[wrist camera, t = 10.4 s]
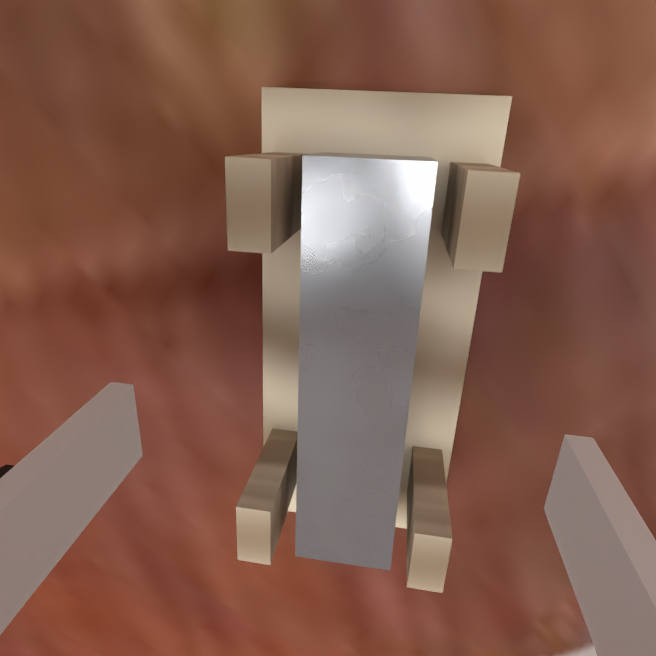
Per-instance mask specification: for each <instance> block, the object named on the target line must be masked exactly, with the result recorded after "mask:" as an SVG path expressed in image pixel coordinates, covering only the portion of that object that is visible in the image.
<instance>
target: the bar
mask: <svg viewBox="0 0 656 656" xmlns="http://www.w3.org/2000/svg"><path fill="white" fill-rule="evenodd" d="M437 165H438V162H437V161H436V160H435V159H433V158H432V157H418V156H396V155H374V154H352V153H330V152H321V153H315V154H308V155H302V208H301V264H300V321H299V377H298V433H297V490H296V546H295V556H298V557H305V558H311V559H318V560H324V561H331V562H337V563H344V564H350V565H357V566H364V567H370V568H377V569H383V570H390V567H391V559H392V550H393V541H394V533H395V524H396V516H397V507H398V499H399V490H400V482H401V473H402V464H403V456H404V447H405V439H406V430H407V422H408V413H409V405H410V396H411V387H412V379H413V370H414V362H415V353H416V345H417V336H418V328H419V319H420V310H421V302H422V293H423V285H424V276H425V268H426V259H427V251H428V242H429V233H430V225H431V216H432V208H433V199H434V191H435V182H436V174H437Z"/></svg>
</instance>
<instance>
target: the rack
mask: <svg viewBox="0 0 656 656" xmlns="http://www.w3.org/2000/svg"><path fill="white" fill-rule="evenodd" d="M261 92H262V153H257V154H247V155H236V156H226V157H225V180H226V212H227V243H228V251H240V252H252V253H262V287H263V449H262V452H261V454H260V456H259V458H258V460H257V462H256V465H255V467H254V469H253V471H252V473H251V475H250V478H249V480H248V482H247V484H246V486H245V488H244V491H243V493H242V495H241V497H240V499H239V501H238V504H237V506H236V522H237V553H238V560H242V561H249V562H255V563H261V564H267V565H271V562H272V558H273V555H274V552H275V549H276V546H277V543H278V540H279V536H280V533H281V530H282V527H283V524H284V521H285V517H286V514H287V511H291V512H296V490H297V433H298V377H299V321H300V264H301V208H302V155H308V154H315V153H321V152H330V153H352V154H374V155H396V156H418V157H432V158H433V159H435V160H436V161H437V162H438V165H437V174H436V182H435V191H434V199H433V208H432V216H431V225H430V233H429V242H428V251H427V259H426V268H425V276H424V285H423V293H422V302H421V310H420V319H419V328H418V336H417V345H416V353H415V362H414V370H413V379H412V387H411V396H410V405H409V413H408V422H407V430H406V439H405V447H404V456H403V464H402V473H401V482H400V490H399V499H398V507H397V516H396V524H395V527H400V528H406V529H407V587H409V588H415V589H422V590H428V591H434V592H440V593H443V587H444V582H445V577H446V571H447V566H448V560H449V555H450V550H451V544H452V530H451V522H450V513H449V505H448V496H447V488H446V483H447V477H448V471H449V465H450V459H451V454H452V448H453V442H454V436H455V430H456V424H457V418H458V413H459V407H460V401H461V395H462V389H463V383H464V377H465V371H466V366H467V360H468V354H469V348H470V342H471V336H472V330H473V324H474V319H475V313H476V307H477V301H478V295H479V289H480V283H481V278H482V272H483V271H487V272H500V273H502V270H503V265H504V260H505V254H506V249H507V244H508V238H509V233H510V227H511V222H512V217H513V211H514V206H515V201H516V195H517V190H518V184H519V179H520V174H521V173H518V172H515V171H511V170H508V169H505V168H501V167H500V166H501V160H502V154H503V148H504V143H505V137H506V131H507V125H508V119H509V113H510V107H511V101H512V96H491V95H465V94H438V93H411V92H385V91H358V90H331V89H305V88H278V87H261Z"/></svg>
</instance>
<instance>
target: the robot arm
mask: <svg viewBox="0 0 656 656" xmlns="http://www.w3.org/2000/svg"><path fill="white" fill-rule="evenodd" d="M142 456H143V454H142V446H141V439H140V431H139V424H138V416H137V409H136V401H135V394H134V386H133V385H132V384H123V383H115V382H110V383H109V384H108V385H107V386H106V387H104V388H103V389H102V390H101V391H100V392H99V393H98V394H96V395H95V396H94V397H93V398H92V399H91V400H90V401H88V402H87V403H86V404H85V405H84V406H83V407H82V408H80V409H79V410H78V411H77V412H76V413H75V414H74V415H72V416H71V417H70V418H69V419H68V420H67V421H66V422H64V423H63V424H62V425H61V426H60V427H59V428H57V429H56V430H55V431H54V432H53V433H52V434H51V435H49V436H48V437H47V438H46V439H45V440H44V441H43V442H41V443H40V444H39V445H38V446H37V447H36V448H35V449H33V450H32V451H31V452H30V453H29V454H28V455H27V456H25V457H24V458H23V459H22V460H21V461H20V462H18V463H17V464H16V465H15V466H13V465H5V466H3V467H1V468H0V635H1V633H2V632H3V631H4V629H5V628H6V627H7V626H8V624H9V623H10V622H11V621H12V619H13V618H14V617H15V616H16V614H17V613H18V612H19V611H20V609H21V608H22V607H23V606H24V604H25V603H26V602H27V600H28V599H29V598H30V597H31V595H32V594H33V593H34V592H35V590H36V589H37V588H38V587H39V585H40V584H41V583H42V582H43V580H44V579H45V578H46V577H47V575H48V574H49V573H50V571H51V570H52V569H53V568H54V566H55V565H56V564H57V563H58V561H59V560H60V559H61V558H62V556H63V555H64V554H65V553H66V551H67V550H68V549H69V548H70V546H71V545H72V544H73V543H74V541H75V540H76V539H77V537H78V536H79V535H80V534H81V532H82V531H83V530H84V529H85V527H86V526H87V525H88V524H89V522H90V521H91V520H92V519H93V517H94V516H95V515H96V514H97V512H98V511H99V510H100V508H101V507H102V506H103V505H104V503H105V502H106V501H107V500H108V498H109V497H110V496H111V495H112V493H113V492H114V491H115V490H116V488H117V487H118V486H119V485H120V483H121V482H122V481H123V480H124V478H125V477H126V476H127V474H128V473H129V472H130V471H131V469H132V468H133V467H134V466H135V464H136V463H137V462H138V461H139V459H140V458H141V457H142ZM544 511H545V513H546V516H547V519H548V522H549V524H550V527H551V530H552V532H553V535H554V538H555V541H556V543H557V546H558V549H559V552H560V554H561V557H562V560H563V562H564V565H565V568H566V571H567V573H568V576H569V579H570V581H571V584H572V587H573V590H574V592H575V595H576V598H577V601H578V603H579V606H580V609H581V611H582V614H583V617H584V620H585V622H586V625H587V628H588V630H589V633H590V636H591V639H592V641H593V644H594V647H595V650H596V652H597V655H598V656H656V540H655V539H654V537H653V535H652V534H651V532H650V530H649V529H648V527H647V526H646V524H645V522H644V521H643V519H642V517H641V516H640V514H639V512H638V511H637V509H636V507H635V506H634V504H633V503H632V501H631V499H630V498H629V496H628V494H627V493H626V491H625V489H624V488H623V486H622V485H621V483H620V481H619V480H618V478H617V476H616V475H615V473H614V471H613V470H612V468H611V466H610V465H609V463H608V462H607V460H606V458H605V457H604V455H603V453H602V452H601V450H600V448H599V447H598V445H597V443H596V442H595V440H594V439H593V438H591V437H582V436H574V435H565V436H564V439H563V443H562V446H561V450H560V453H559V457H558V460H557V464H556V467H555V471H554V474H553V478H552V482H551V485H550V489H549V492H548V496H547V499H546V503H545V506H544Z"/></svg>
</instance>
